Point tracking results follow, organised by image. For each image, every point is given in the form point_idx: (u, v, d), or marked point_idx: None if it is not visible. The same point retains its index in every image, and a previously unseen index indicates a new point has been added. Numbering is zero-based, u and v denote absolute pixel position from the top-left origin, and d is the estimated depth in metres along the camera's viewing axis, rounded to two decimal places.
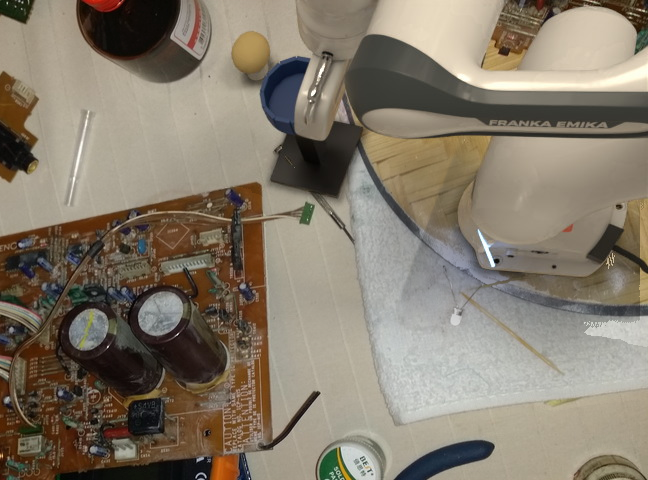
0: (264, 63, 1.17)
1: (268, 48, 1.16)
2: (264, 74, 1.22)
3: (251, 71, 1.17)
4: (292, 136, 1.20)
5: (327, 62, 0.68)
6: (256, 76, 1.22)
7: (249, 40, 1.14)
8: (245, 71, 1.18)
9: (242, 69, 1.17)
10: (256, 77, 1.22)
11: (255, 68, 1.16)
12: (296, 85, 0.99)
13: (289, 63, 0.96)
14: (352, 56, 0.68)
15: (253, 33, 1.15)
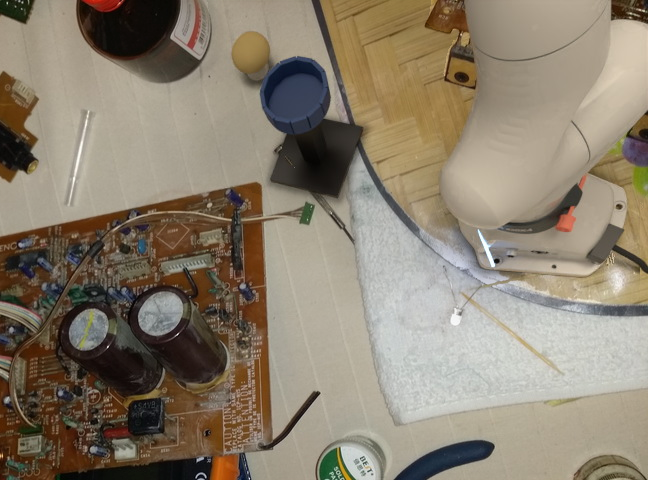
0: (264, 63, 1.17)
1: (268, 48, 1.16)
2: (264, 74, 1.22)
3: (251, 71, 1.17)
4: (292, 136, 1.20)
5: None
6: (256, 76, 1.22)
7: (249, 40, 1.14)
8: (245, 71, 1.18)
9: (242, 69, 1.17)
10: (256, 77, 1.22)
11: (255, 68, 1.16)
12: (296, 85, 0.99)
13: (289, 63, 0.96)
14: None
15: (253, 33, 1.15)
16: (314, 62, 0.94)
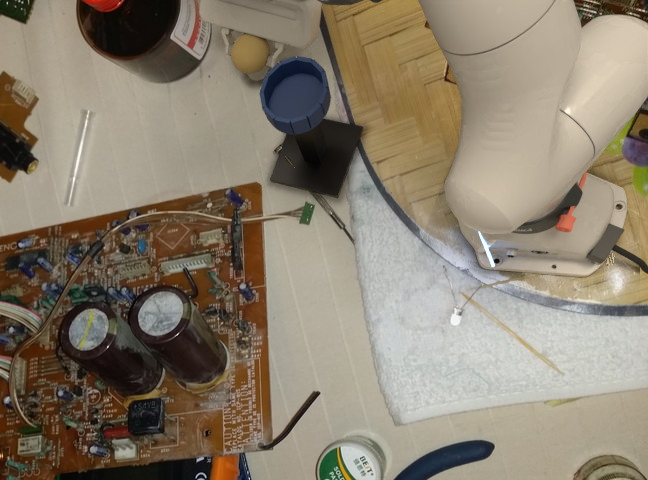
0: (264, 63, 1.17)
1: (268, 48, 1.16)
2: (264, 74, 1.22)
3: (251, 71, 1.17)
4: (292, 136, 1.20)
5: None
6: (256, 76, 1.22)
7: (249, 40, 1.14)
8: (245, 71, 1.18)
9: (242, 69, 1.17)
10: (256, 77, 1.22)
11: (255, 68, 1.16)
12: (296, 85, 0.99)
13: (289, 63, 0.96)
14: None
15: None
16: (314, 62, 0.94)
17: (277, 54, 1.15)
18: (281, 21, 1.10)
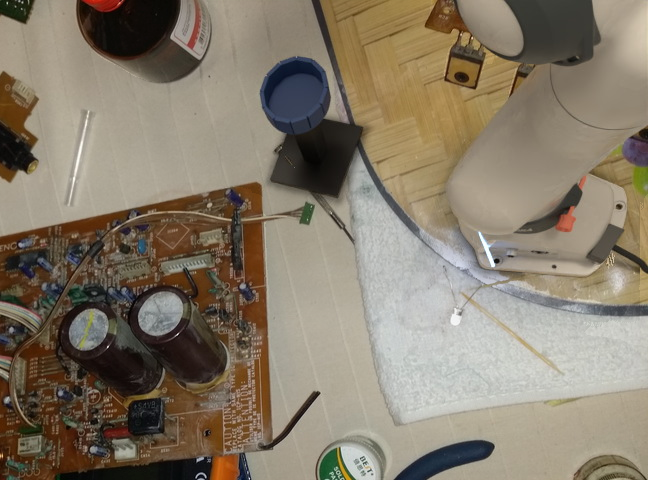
0: None
1: None
2: None
3: None
4: (292, 136, 1.20)
5: None
6: None
7: None
8: None
9: None
10: None
11: None
12: (296, 85, 0.99)
13: (289, 63, 0.96)
14: None
15: None
16: (314, 62, 0.94)
17: None
18: None
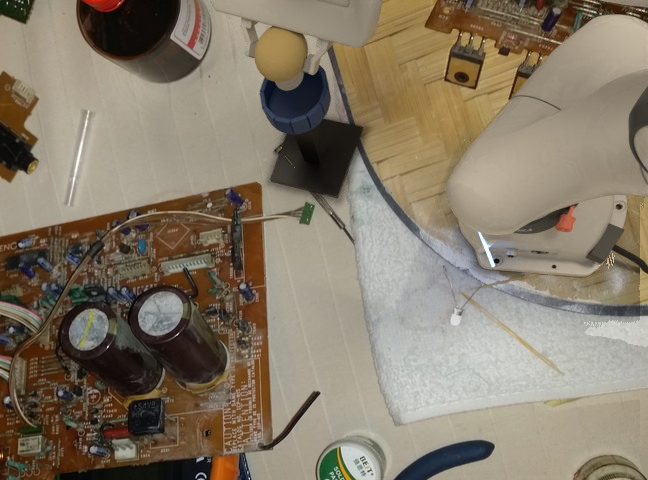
0: (300, 68, 0.85)
1: (306, 47, 0.84)
2: (298, 82, 0.90)
3: (282, 79, 0.85)
4: (292, 136, 1.20)
5: None
6: (287, 85, 0.90)
7: (280, 36, 0.82)
8: (273, 79, 0.86)
9: (269, 76, 0.85)
10: (287, 86, 0.90)
11: (287, 75, 0.85)
12: None
13: None
14: None
15: None
16: None
17: (319, 55, 0.83)
18: (326, 9, 0.78)
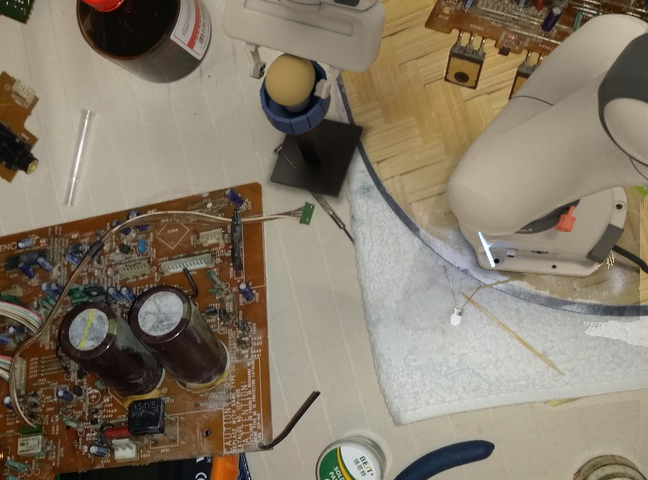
0: (307, 93, 0.91)
1: (313, 74, 0.90)
2: (305, 105, 0.97)
3: (291, 103, 0.92)
4: (292, 136, 1.20)
5: None
6: (295, 108, 0.97)
7: (290, 64, 0.89)
8: (283, 103, 0.92)
9: (279, 100, 0.92)
10: (295, 109, 0.97)
11: (296, 99, 0.91)
12: None
13: None
14: None
15: (294, 55, 0.90)
16: (314, 62, 0.94)
17: (330, 81, 0.88)
18: (331, 38, 0.84)
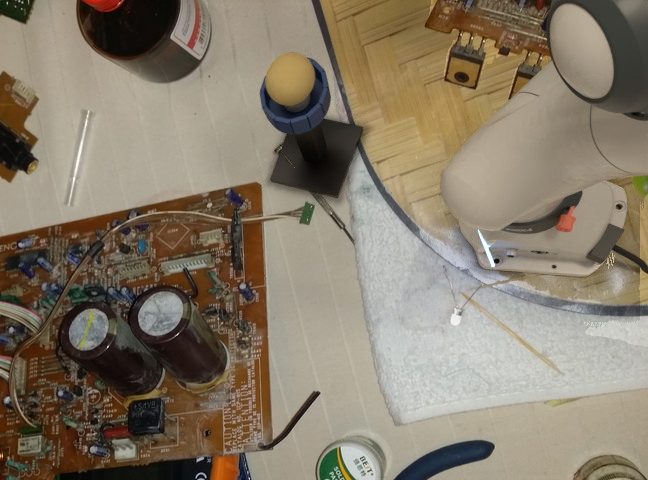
0: (307, 93, 0.91)
1: (313, 74, 0.90)
2: (305, 105, 0.97)
3: (291, 103, 0.92)
4: (292, 136, 1.20)
5: None
6: (295, 108, 0.97)
7: (290, 64, 0.89)
8: (283, 103, 0.92)
9: (279, 100, 0.92)
10: (295, 109, 0.97)
11: (296, 99, 0.91)
12: None
13: None
14: None
15: (294, 55, 0.90)
16: (314, 62, 0.94)
17: None
18: None
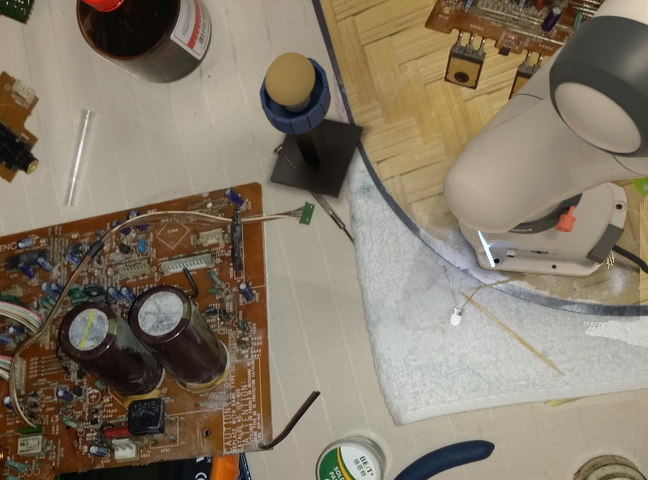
0: (307, 93, 0.91)
1: (313, 74, 0.90)
2: (305, 105, 0.97)
3: (291, 103, 0.92)
4: (292, 136, 1.20)
5: None
6: (295, 108, 0.97)
7: (290, 64, 0.89)
8: (283, 103, 0.92)
9: (279, 100, 0.92)
10: (295, 109, 0.97)
11: (296, 99, 0.91)
12: None
13: None
14: None
15: (294, 55, 0.90)
16: (314, 62, 0.94)
17: None
18: None
